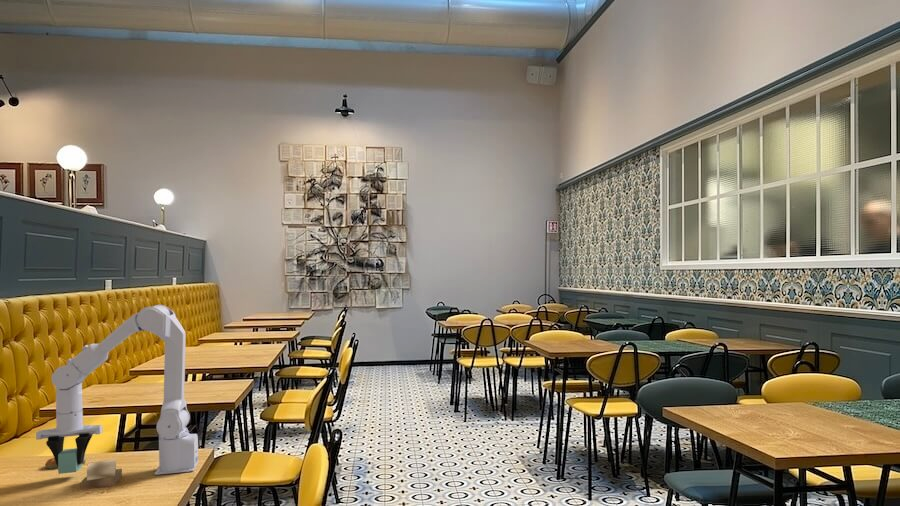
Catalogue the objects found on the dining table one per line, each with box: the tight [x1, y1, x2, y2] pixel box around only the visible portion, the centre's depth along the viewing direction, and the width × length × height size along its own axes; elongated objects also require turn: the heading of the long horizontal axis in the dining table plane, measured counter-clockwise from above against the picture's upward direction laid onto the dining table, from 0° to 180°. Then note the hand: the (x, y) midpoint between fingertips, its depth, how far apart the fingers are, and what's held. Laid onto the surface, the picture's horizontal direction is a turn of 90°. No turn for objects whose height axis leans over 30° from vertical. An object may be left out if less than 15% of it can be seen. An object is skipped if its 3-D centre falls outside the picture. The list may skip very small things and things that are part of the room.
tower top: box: [86, 458, 117, 480], centre depth 146 cm, size 6×6×2 cm
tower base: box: [81, 468, 123, 490], centre depth 146 cm, size 7×7×2 cm
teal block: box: [57, 447, 83, 475], centre depth 149 cm, size 4×4×5 cm
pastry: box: [44, 454, 87, 470], centre depth 160 cm, size 9×7×4 cm
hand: (70, 464), depth 149 cm, fingers closed on teal block, 4 cm apart
